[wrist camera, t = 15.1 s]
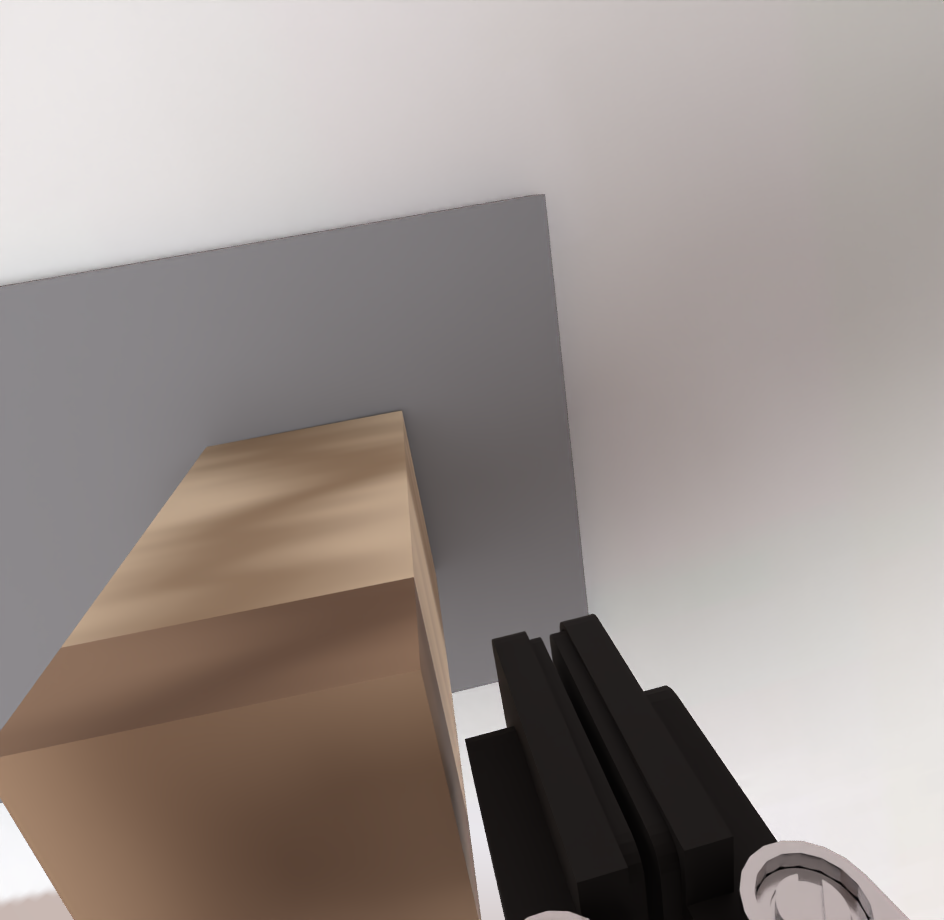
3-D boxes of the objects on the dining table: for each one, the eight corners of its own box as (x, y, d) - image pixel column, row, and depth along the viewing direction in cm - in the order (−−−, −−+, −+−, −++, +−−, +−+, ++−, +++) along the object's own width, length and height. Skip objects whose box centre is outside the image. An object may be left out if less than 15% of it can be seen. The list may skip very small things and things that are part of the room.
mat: (534, 194, 17) (544, 194, 16) (582, 639, 22) (592, 658, 21) (-427, 359, 14) (-479, 369, 14) (-112, 806, 20) (-135, 836, 19)
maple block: (401, 410, 17) (420, 669, 8) (435, 574, 19) (483, 941, 9) (206, 446, 16) (-22, 760, 7) (261, 609, 18) (135, 1022, 9)
